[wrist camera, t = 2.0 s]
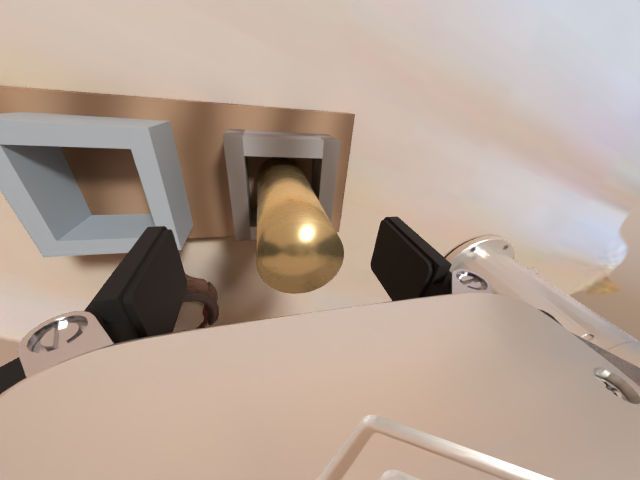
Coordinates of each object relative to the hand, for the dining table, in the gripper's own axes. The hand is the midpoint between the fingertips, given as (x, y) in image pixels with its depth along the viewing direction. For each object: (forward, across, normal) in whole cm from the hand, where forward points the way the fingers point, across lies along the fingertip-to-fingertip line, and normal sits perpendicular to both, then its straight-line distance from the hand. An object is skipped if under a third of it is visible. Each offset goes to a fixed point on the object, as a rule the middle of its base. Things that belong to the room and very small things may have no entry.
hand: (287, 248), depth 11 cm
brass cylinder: (+11, -1, 0) cm, 11 cm away
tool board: (+13, +5, 0) cm, 14 cm away
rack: (+12, +11, 0) cm, 16 cm away
